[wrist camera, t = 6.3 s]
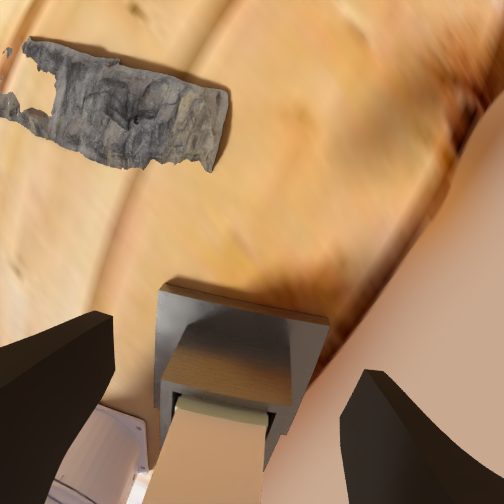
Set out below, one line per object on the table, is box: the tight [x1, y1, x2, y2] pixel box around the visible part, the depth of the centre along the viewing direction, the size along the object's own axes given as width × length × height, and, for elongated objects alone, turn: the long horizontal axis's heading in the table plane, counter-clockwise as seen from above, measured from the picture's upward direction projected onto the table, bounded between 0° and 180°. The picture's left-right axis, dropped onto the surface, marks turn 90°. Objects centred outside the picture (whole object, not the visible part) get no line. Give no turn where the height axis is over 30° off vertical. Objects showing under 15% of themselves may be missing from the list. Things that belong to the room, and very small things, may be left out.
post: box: [142, 394, 269, 504], centre depth 12 cm, size 4×4×9 cm
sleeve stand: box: [154, 283, 330, 472], centre depth 17 cm, size 10×10×6 cm
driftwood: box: [0, 36, 229, 173], centre depth 15 cm, size 21×7×2 cm, turn 64°
